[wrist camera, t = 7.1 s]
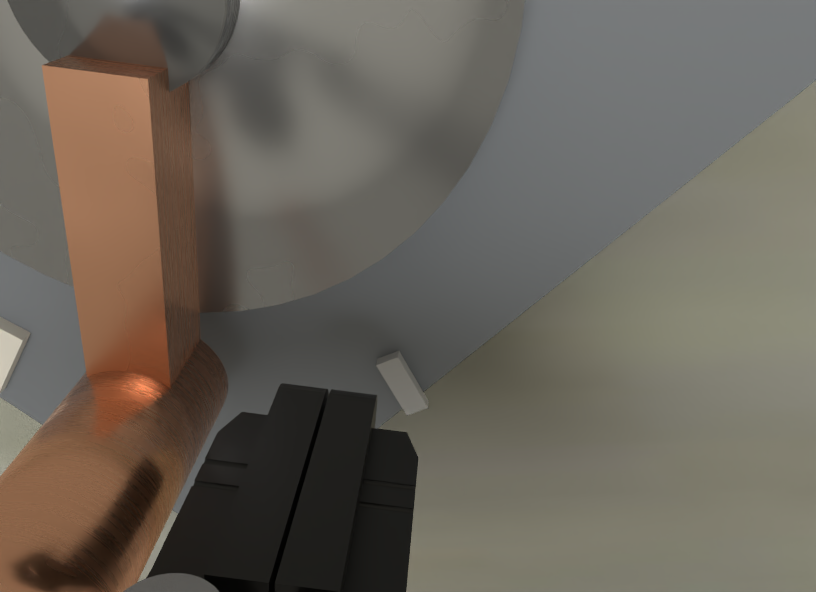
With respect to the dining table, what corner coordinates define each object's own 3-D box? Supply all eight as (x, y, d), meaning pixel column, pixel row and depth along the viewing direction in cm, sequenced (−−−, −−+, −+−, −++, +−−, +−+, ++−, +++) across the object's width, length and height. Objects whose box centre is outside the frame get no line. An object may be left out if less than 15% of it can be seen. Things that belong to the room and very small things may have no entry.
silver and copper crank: (-319, -594, 8) (-1807, -1546, 3) (603, -483, 8) (873, -1248, 3) (-62, 355, 15) (-360, 607, 10) (444, 423, 15) (432, 717, 9)
